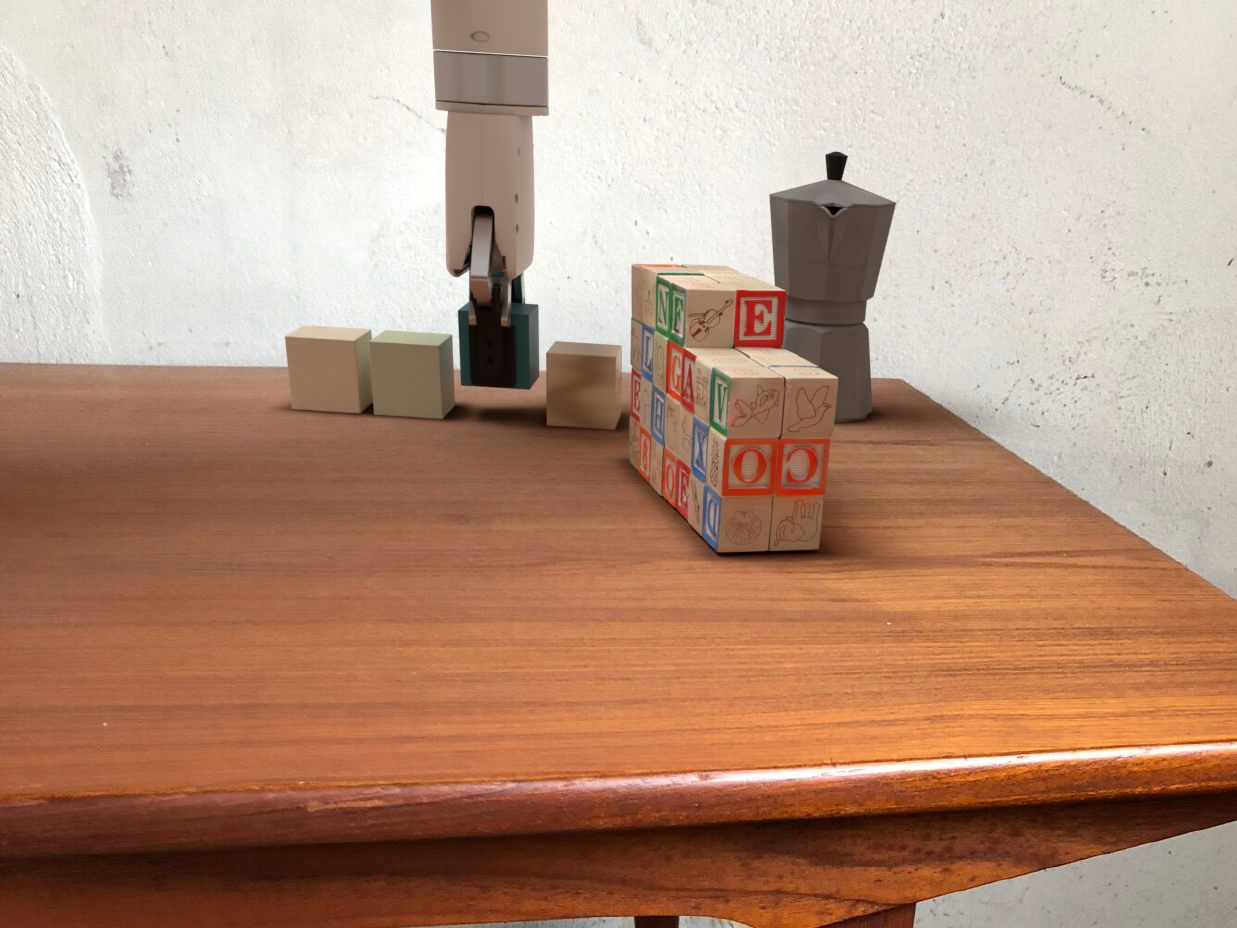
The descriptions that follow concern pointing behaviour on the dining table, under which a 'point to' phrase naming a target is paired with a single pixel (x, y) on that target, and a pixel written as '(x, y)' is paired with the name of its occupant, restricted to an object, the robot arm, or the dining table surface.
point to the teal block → (525, 344)
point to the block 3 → (583, 385)
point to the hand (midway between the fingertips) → (499, 375)
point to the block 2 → (412, 374)
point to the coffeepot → (831, 277)
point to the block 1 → (329, 369)
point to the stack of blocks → (727, 408)
